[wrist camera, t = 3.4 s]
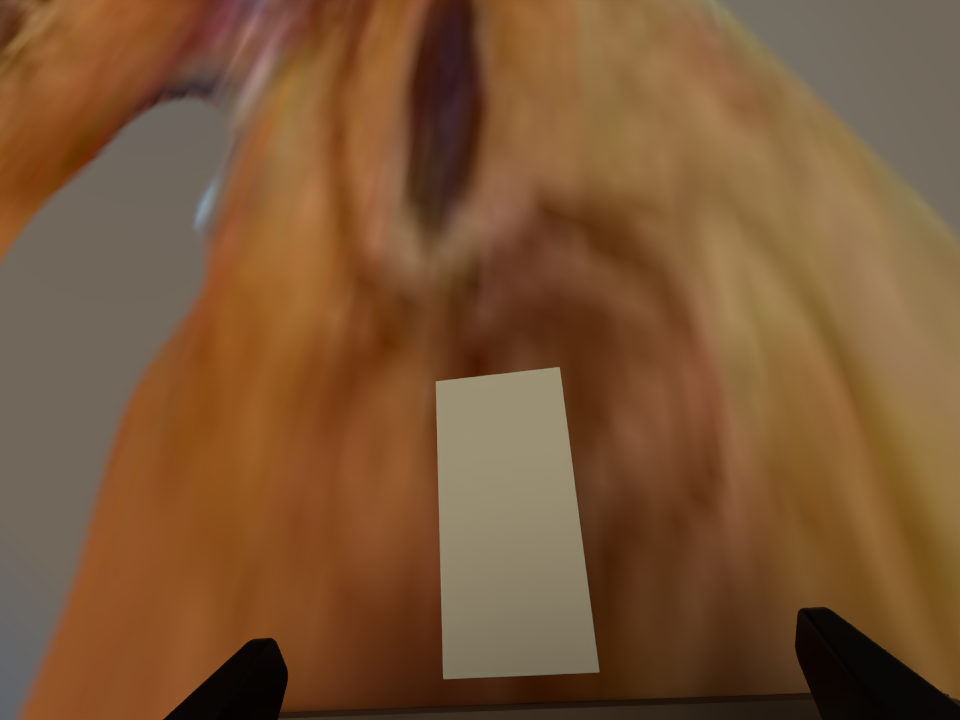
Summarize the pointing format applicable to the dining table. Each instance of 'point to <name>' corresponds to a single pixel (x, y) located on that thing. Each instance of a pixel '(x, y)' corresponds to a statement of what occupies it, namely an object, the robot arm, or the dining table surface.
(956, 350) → the dining table surface
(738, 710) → the stand
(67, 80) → the dining table surface
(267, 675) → the robot arm
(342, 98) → the dining table surface
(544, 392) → the rectangular block
